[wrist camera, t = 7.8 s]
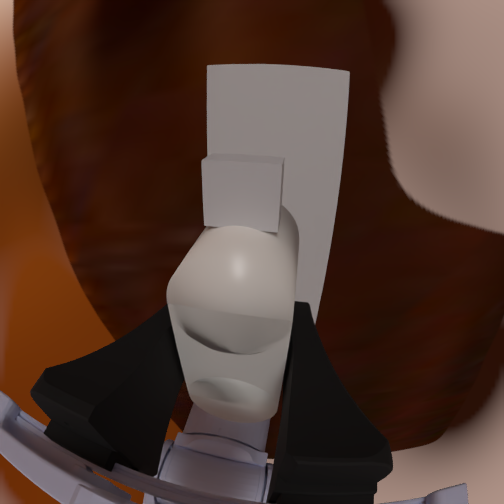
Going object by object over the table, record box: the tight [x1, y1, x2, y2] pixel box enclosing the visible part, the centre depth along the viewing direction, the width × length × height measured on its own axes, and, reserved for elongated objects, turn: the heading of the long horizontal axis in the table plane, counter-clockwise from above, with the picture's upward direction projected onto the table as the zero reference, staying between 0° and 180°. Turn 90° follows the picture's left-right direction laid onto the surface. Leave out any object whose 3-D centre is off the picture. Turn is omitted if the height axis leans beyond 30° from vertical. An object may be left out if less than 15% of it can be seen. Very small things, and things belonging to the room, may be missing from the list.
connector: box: [167, 153, 299, 423], centre depth 11 cm, size 10×4×4 cm, turn 178°
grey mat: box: [207, 64, 350, 323], centre depth 19 cm, size 20×8×1 cm, turn 179°
